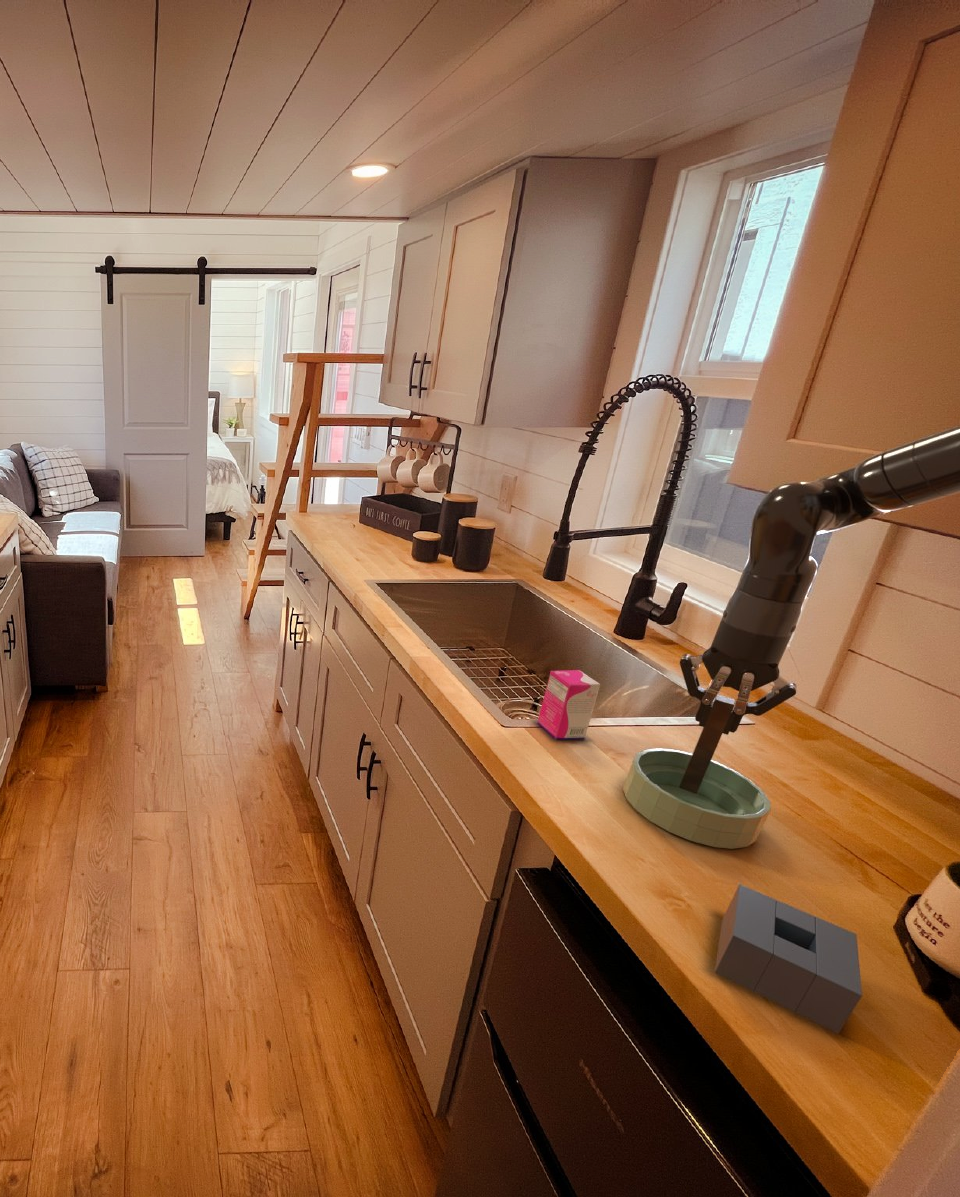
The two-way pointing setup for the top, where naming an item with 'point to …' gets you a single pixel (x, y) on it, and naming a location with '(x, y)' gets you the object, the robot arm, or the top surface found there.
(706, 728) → the rectangular peg
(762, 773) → the top surface
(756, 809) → the bowl
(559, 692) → the supplement box
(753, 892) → the holder
